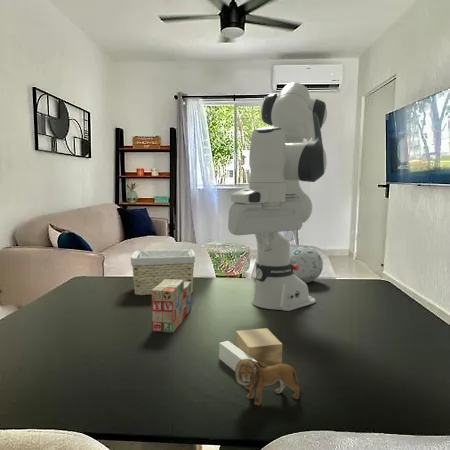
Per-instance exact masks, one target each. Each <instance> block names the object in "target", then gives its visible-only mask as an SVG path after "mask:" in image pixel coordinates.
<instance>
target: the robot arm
mask: <svg viewBox="0 0 450 450" xmlns="http://www.w3.org/2000/svg"><path fill="white" fill-rule="evenodd" d="M327 109H328V108H327V104H326V102H325V101H323V100H320V99H318V98H311V96H310V92H309V90H308V88H307V87H306V86H305V85H304V84H303V83H300V82H290V83H287V84H286V85H284V87H283V88H282V89H281V90H280V91H279V92H278V93H277V92H275V93H271V94H268V95H267V96H266V97H265V98H264V99H263V102H262V104H261V108H260V113H261V115H260V116H261V120H262V121H263V123H264V124H266V125H268V126H264V127H262V126H261V127H257V128H255V129H254V130H253V131H252V133H251V135H250V136H251V138H250V144H249V155H248V156H249V160H248V161H249V162H248V165H249V169H250V176H249V182H248V186H247V187H245V188H242V189H241V190H237V191H235V192H232V193H231V195H230V201H231V202H232V204H231V205H230V207H229V210H228V220H227V221H228V223H227V226H228V227H227V229H228V231H229V233H230V234H231V235H235V236H245V235H254V237H255V239H256V251H257V252H256V253H257V254H256V255H257V257H256V259H257V261H256V263H255V279H256V281H255V287H254V294H253V297H252V300H251V303H252V304H253V305H254V306H256V307H259V308H262V309H268V310H280V311H287V312H289V311H293V310H297V309H299V308H300V309H301V308H302V307H307V306H309V305H313V304H316V299H315V298H314V297H313V296H311V295H310V293H309V287H308V284H307V283H305V282H303V281H302V280H301V279H299V278H298V277H297V276H296V275H295V274H293V273H294V272H293V270H296V271H298V269H299V265H296V264H293V265H292V264H290V253H291V243H290V241H289V239H288V237H286V236H285V235H283V233H281V232H290V231H292V232H293V231H300V230H301V229H302V227H303V223H306V222H307V221H309V219H310V217H311V215H312V213H313V203H312V200H311V198H310V196H309V195H307V193H305V192H304V190H303V189H302V187H301V185H300V182H308V183H315V182H317V181H318V180H319V179H320V178H321V177H323V176H324V175H325V172H326V170H327V164H328V163H327V155H326V151H325V149H324V145H323V137H322V131H321V129H322V127H323V126H324V124H325V123H326V121H327V117H328V111H327ZM304 139H305V140H306V141H304Z"/></svg>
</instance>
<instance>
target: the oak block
mask: <svg viewBox="0 0 450 450" xmlns="http://www.w3.org/2000/svg"><path fill="white" fill-rule="evenodd" d="M235 346H236V347H238V348H239V349H240V350H242V351H243V352H245V353H246V354H247V355H249V356H250V357H252V358H253V359H254V360H256V361H257V362H259V363H261V364H262V365H263V366H266V367H268V366H273V365H277V364H280V363H283V343H282V342H281V341H280V340H279V339H278V338H277V336H275V335H274V334H273V332H272V331H270V329H268V328H265V327H264V328H254V329H245V330H244V329H243V330H235Z"/></svg>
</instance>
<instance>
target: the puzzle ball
mask: <svg viewBox="0 0 450 450" xmlns="http://www.w3.org/2000/svg"><path fill="white" fill-rule="evenodd" d="M290 264H292V265H293V264H296V265H299V269H298V271H296V270H293V272H294V273H293V274H295V275H296V276H297V277H298V278H299V279H301V280H302V281H303V282H305V283H306V284H307V283H311V282H313V281H314V280H315V281H316V280H317V279H318V278H319V277H320V276H321V273H322V271H323V267H324V266H323V265H324V263H323V258H322V257H321V254H319V252H318V251H316V250H315V249H314V248H312V247H309V246H300V247H296V248H294V249H292V251H290Z"/></svg>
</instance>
